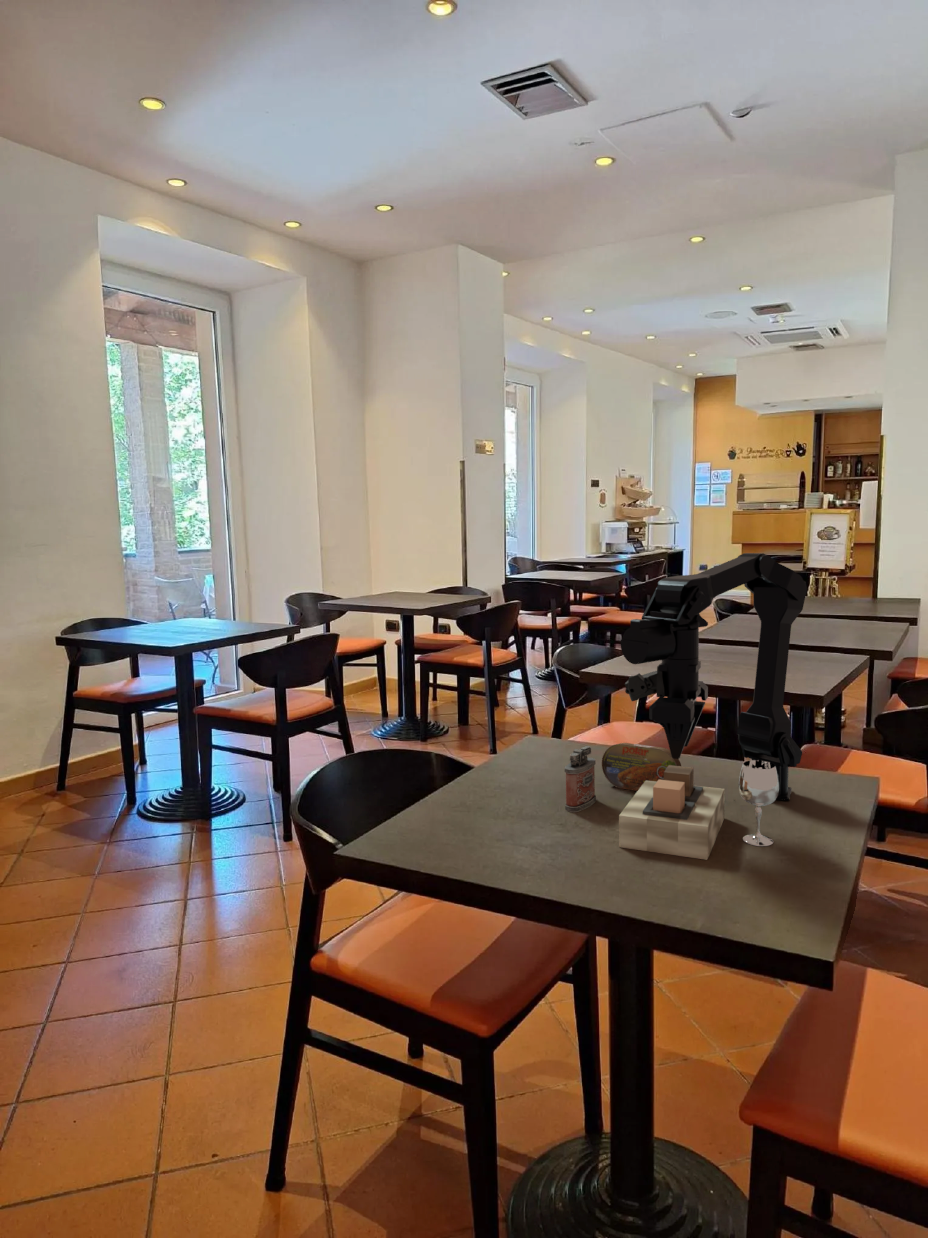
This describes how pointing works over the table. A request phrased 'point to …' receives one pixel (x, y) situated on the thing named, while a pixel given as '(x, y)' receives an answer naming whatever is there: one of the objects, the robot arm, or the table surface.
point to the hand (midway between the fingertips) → (680, 752)
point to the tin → (635, 764)
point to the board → (673, 823)
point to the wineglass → (758, 793)
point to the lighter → (580, 780)
